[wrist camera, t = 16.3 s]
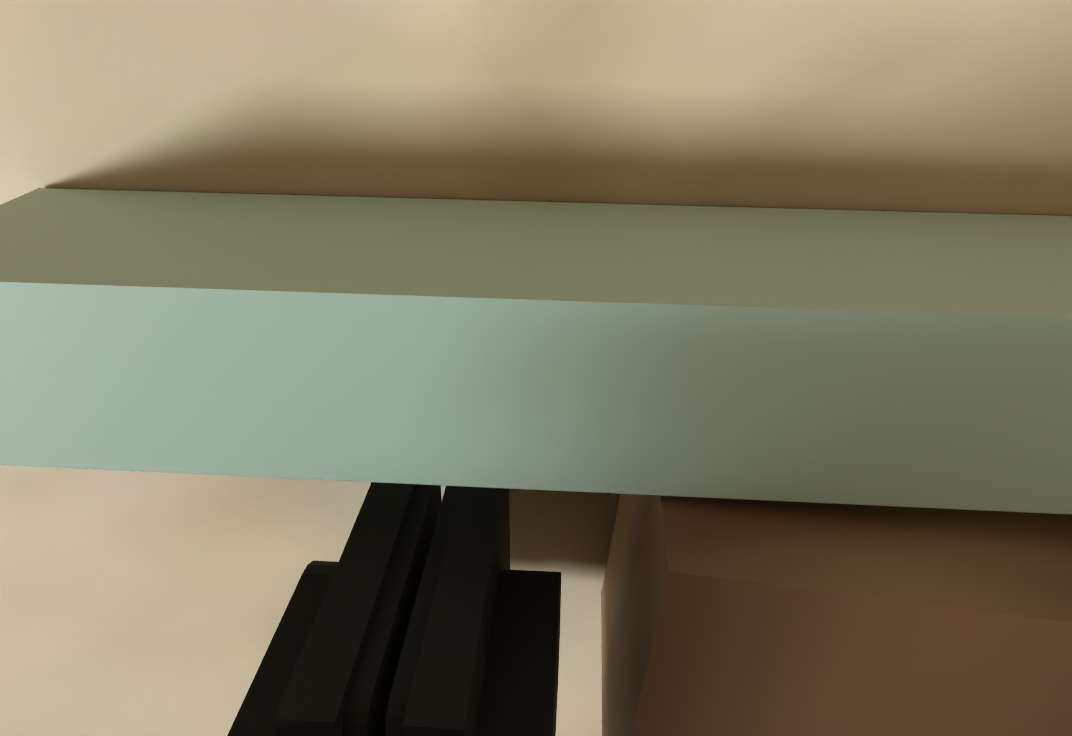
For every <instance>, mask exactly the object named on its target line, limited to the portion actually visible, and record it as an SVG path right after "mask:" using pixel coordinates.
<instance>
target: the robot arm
mask: <svg viewBox="0 0 1072 736" xmlns="http://www.w3.org/2000/svg"><path fill="white" fill-rule="evenodd" d="M560 603H561V572H546V571H524V570H510V525H509V488H488V487H467V486H446V489H445V492H444V496H443V500H442V501H441V485H424V484H402V483H380V482H372V483H371V485H370V488H369V490H368V492H367V495H366V497H365V500H364V502H363V505H362V507H361V509H360V512H359V514H358V517H357V519H356V522H355V524H354V526H353V529H352V531H351V534H350V536H349V538H348V541H347V543H346V546H345V548H344V551H343V553H342V555H341V558H340V560H339V562H328V561H312V562H311V563H309V564H308V565H307V567H306V569H305V570H304V572H303V574H302V576H301V578H300V580H299V582H298V585H297V587H296V589H295V591H294V593H293V595H292V597H291V600H290V602H289V604H288V606H287V608H286V610H285V613H284V615H283V617H282V619H281V621H280V623H279V626H278V628H277V630H276V632H275V634H274V636H273V638H272V641H271V643H270V645H269V647H268V649H267V651H266V654H265V656H264V658H263V660H262V662H261V664H260V667H259V669H258V671H257V673H256V675H255V677H254V680H253V682H252V684H251V686H250V688H249V690H248V692H247V695H246V697H245V699H244V701H243V703H242V705H241V708H240V710H239V712H238V714H237V716H236V718H235V721H234V723H233V725H232V727H231V729H230V731H229V734H228V736H555V732H556V711H557V689H558V666H559V639H560Z"/></svg>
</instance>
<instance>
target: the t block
mask: <svg viewBox="0 0 1072 736" xmlns="http://www.w3.org/2000/svg"><path fill="white" fill-rule="evenodd" d="M601 616H602V736H1072V514H1051V513H1030V512H1008V511H986V510H965V509H943V508H921V507H900V506H878V505H857V504H835V503H813V502H792V501H770V500H748V499H727V498H705V497H683V496H662V495H640V494H620V497H619V502H618V508H617V513H616V518H615V524H614V529H613V534H612V539H611V545H610V550H609V555H608V561H607V566H606V571H605V576H604V582H603V587H602V592H601Z"/></svg>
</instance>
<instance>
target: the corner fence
mask: <svg viewBox="0 0 1072 736" xmlns="http://www.w3.org/2000/svg"><path fill="white" fill-rule="evenodd" d="M0 465H12V466H34V467H56V468H77V469H99V470H120V471H142V472H164V473H185V474H207V475H229V476H250V477H272V478H294V479H315V480H337V481H359V482H380V483H402V484H424V485H445V486H467V487H488V488H510V489H532V490H553V491H575V492H597V493H618V494H640V495H662V496H683V497H705V498H727V499H748V500H770V501H792V502H813V503H835V504H857V505H878V506H900V507H921V508H943V509H965V510H986V511H1008V512H1030V513H1051V514H1072V216H1050V215H1013V214H976V213H939V212H902V211H865V210H828V209H791V208H754V207H717V206H680V205H644V204H607V203H570V202H533V201H496V200H459V199H422V198H385V197H348V196H311V195H274V194H237V193H200V192H163V191H127V190H90V189H53V188H38V189H36V190H34V191H31V192H29V193H27V194H24V195H22V196H20V197H18V198H15V199H13V200H11V201H9V202H6V203H4V204H2V205H0Z"/></svg>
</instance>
